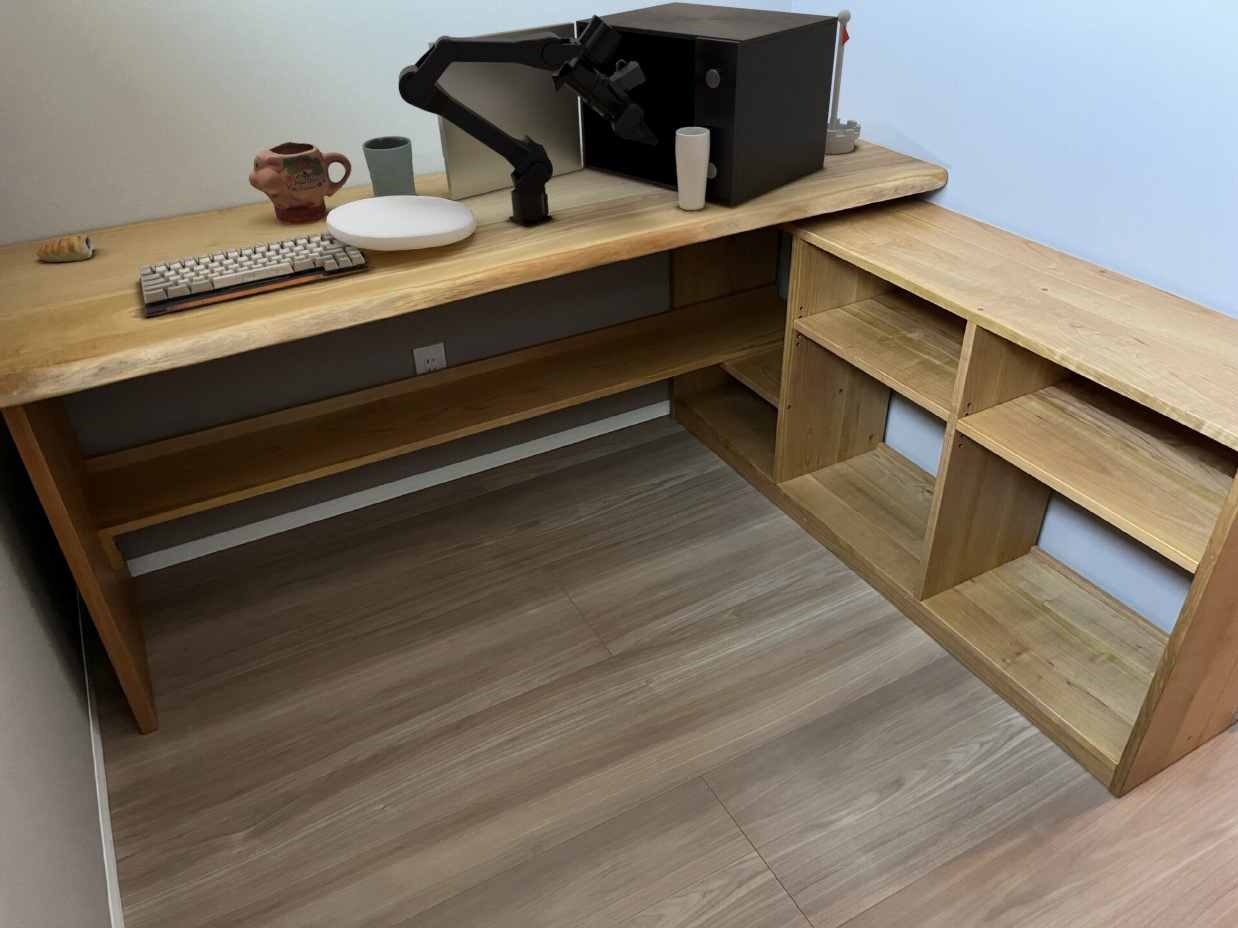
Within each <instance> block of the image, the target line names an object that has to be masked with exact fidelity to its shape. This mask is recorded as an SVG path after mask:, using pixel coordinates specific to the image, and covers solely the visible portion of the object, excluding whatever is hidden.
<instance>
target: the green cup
mask: <svg viewBox="0 0 1238 928" xmlns="http://www.w3.org/2000/svg"><path fill="white" fill-rule="evenodd" d="M361 147H362V151H363V155H364V159H365V163H366V166H367V169H368V172H369V178H370V180H371V184H372V191H373V195H374V198H375V197H384V196H417V194H416V185H415V178H414V177H415V176H414V174H415V173H414V165H413V164H414V163H413V146H412V140H411V139H410V138H409V137H407V136H400V135H389V136H379V137H374V138H370V139H367V140H365V141H364V142H362V144H361Z"/></svg>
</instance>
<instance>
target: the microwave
mask: <svg viewBox="0 0 1238 928" xmlns="http://www.w3.org/2000/svg"><path fill="white" fill-rule="evenodd" d="M598 17H599V18H600V19H601V20H602V21H604V22H605V23H606V24H608V25H609V26H611V27H612V28H613V29H614V30H615V31H617V32H618V33H619V34H620V35H621V36H622V37H623V38H624V41H623V42H622V43H621V45H620V46H619V47H618V49H617V50H616V52H615V53H614V54H613V56H612V57H611V58H610V60H609V61H608V63H607V64H604V63H603V64H602V65H601V64H600V63H599V65H598V66H597V65H596V64H595V63H594V62H592V61H591V60H590V59H589V58H588V57H587V56H586V55H584V56H583V57H582V58H583V59H584V60H586V61H587V62H588V63H589V64H590V65H591V66H593V67H594V68H595V69H596V70H597V71H598V72H599V73H601V74H602V75H604V74H605V75H606V76H607V77H608V78H610V77H611V76H612V75H614V72H616V63H617V62H618V61H620V60H621V59H623V60H624V61H626V62H627V63H630V61H632V62H633V61H636V62H637V63H638V64H639V66H640V68H641V70H642V72H643V74H644V75H645V77H646V81H645V82H644V83H642V84H639V85H637V86H636V87H634V88H633V89H631V90H630V91H628V92H626V93H627V94H628V95H629V97H630V100H633V101H634V102H635V103H636V104H638V105H639V106H640V107H641V108H642V109H643V110H644V123H645V124H646V125H647V126H648V128H649V129H650V130H651V132H652V133H653V134H654V136H655V137H656V138H657V139H658V141H659V142H658V143H657V145H656V146H654V145H651V144H647V143H643V142H639V141H635V140H631V139H627V138H626V139H625V138H622V137H620V136H619V135H618V134H617V133H616V132H615V131H614V130H613V129H612V125H611V122H610V121H606V120H605V119H604V118H603V117H602V115H600V114H599V113H598V112H597V111H595V110H594V109H593V108H591V107H590V106H588V105H587V104H586V102H585V101H583V100H582V99H581V98H580V97H579V114H580V133H581V153H582V169H587V170H591V171H595V172H598V173H603V174H608V175H611V176H615V177H620V178H624V179H627V180H632V181H635V182H639V183H643V184H648V185H652V186H655V187H658V188H663V189H665V190H670V191H674V192H678V180H677V167H676V152H675V142H676V131H677V130H678V129H681V128H686V127H701V128H706V129H708V130H709V131H710V153H709V163H708V172H707V181H706V191H705V202H706V201H707V202H709V203H714V204H718V205H722V206H725V207H729V208H732V207H733V206H735V207H736V206H739V205H741V204H744V203H745V202H749V201H751V200H752V199H755V198H757V197H760V196H762V195H765V194H766V193H769V192H771V191H774V190H776V189H779V188H781V187H784V186H786V185H788V184H790V183H792V182H795V181H797V180H799V179H801V178H804V177H806V176H809V175H811V174H814V173H815V172H816V173H817V172H818V171H820V170H823V169H824V166H825V155H826V154H825V147H826V137H827V127H828V123H829V118H830V117H829V116H830V105H831V97H832V87H833V74H834V64H835V54H836V46H837V45H836V44H837V37H838V27H839V26H838V24H839V21H838V16H833V15H823V14H822V15H821V14H810V13H801V12H789V11H788V12H787V11H779V10H766V9H756V8H744V7H733V6H723V5H713V4H711V5H710V4H701V3H690V2H678V1H674V2H667V3H663V4H658V5H653V6H648V7H642V8H637V9H632V10H626V11H622V12H621V11H620V12H615V13H610V14H606V15H601V16H600V15H599V16H598ZM591 18H592V17H590V18H584V19H579V20H576V21H575V31H576V32H575V35H576V39H577V40H578V38H579V37H580V36H581V34H582V33H583V31H584V30H585V29H586V27H587V26H588V24H589V22H590V20H591Z"/></svg>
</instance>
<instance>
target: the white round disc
mask: <svg viewBox="0 0 1238 928" xmlns="http://www.w3.org/2000/svg"><path fill="white" fill-rule="evenodd" d="M326 227H327V231H328V230H329V232H330V233H331V234H332V235H333V236H334V237H335V238H336V239H338V240H340V241H341V242H343V243H346V244H348V245H351V246H354V247H356V248H359V249H364V250H370V251H371V250H372V251H373V250H374V251H382V252H383V251H384V252H387V251H407V250H421V249H428V248H435V247H443V246H446V245H451V244H454V243H457V242H460V241H462V240H465V239H466V238H468V237H470V236H472V234H473V233H474V232H475V231H476V230H477V222H476V218H475V215H474V212H473V210H472V209H471V208H470V207H468V206H467V205H465V204H463V203H460V202H458V201H457V200H451V199H450V198H449V199H448V198H442V197H437V196H430V195H429V196H428V195H427V196H426V195H416V196H384V197H375V196H374V197H367V198H363V199H357V200H354V201H350V202H347V203H343V204H342V205H339V206H337V207H335V208H333V209H332V210H330V211H329V213H328V214H327V217H326Z"/></svg>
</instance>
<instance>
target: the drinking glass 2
mask: <svg viewBox="0 0 1238 928" xmlns="http://www.w3.org/2000/svg"><path fill="white" fill-rule="evenodd" d="M675 152H676V167H677V180H678V191H677V192H678V193H677V194H678V207H679V208H680V209H682V210H685V211H697V210H701V209H703V208H704V207H705V205H706V201H705V191H706V181H707V172H708V163H709V153H710V131H709V130H708V129H706V128H701V127H686V128H681V129H678V130H677V131H676V142H675Z"/></svg>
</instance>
